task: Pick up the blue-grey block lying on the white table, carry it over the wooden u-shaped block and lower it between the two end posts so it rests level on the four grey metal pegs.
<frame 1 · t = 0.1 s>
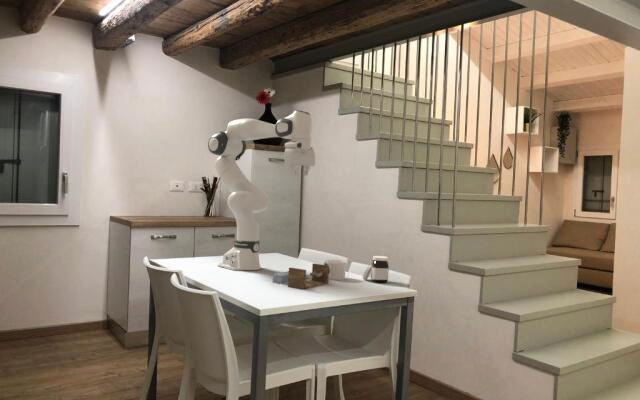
hand: (299, 175, 246), 48 cm above the table, fingers open, 8 cm apart
mug: (332, 278, 250), on the table
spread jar: (375, 281, 245), on the table
blue-grey block: (286, 281, 235), on the table
wooden u-shaped block: (308, 285, 228), on the table
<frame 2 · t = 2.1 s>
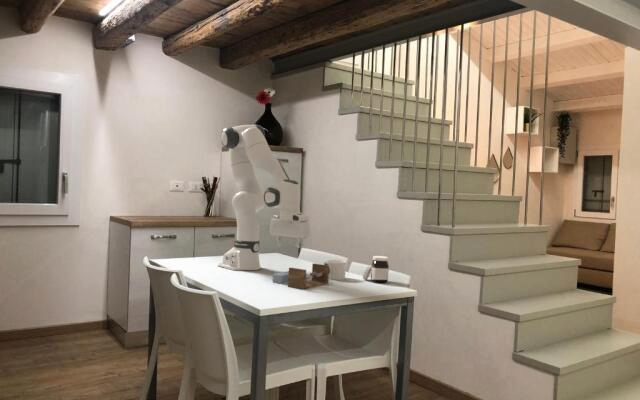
hand: (288, 247, 234), 15 cm above the table, fingers open, 8 cm apart
nothing on the table moved.
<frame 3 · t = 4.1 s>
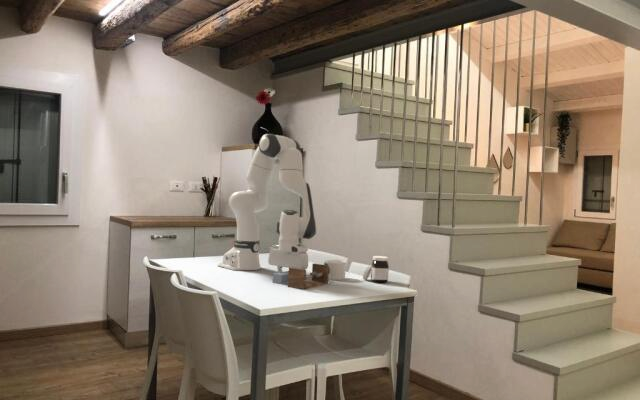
hand: (287, 277, 235), 2 cm above the table, fingers closed on blue-grey block, 5 cm apart
blue-grey block: (286, 281, 235), on the table, touching gripper
everything else where it was.
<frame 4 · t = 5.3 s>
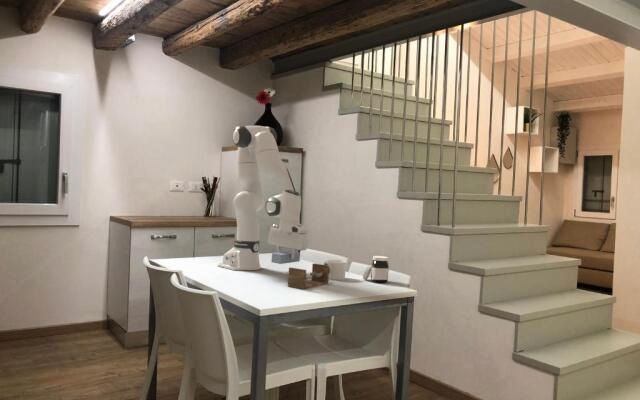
hand: (286, 257, 235), 11 cm above the table, fingers closed on blue-grey block, 5 cm apart
blue-grey block: (285, 261, 235), point 9 cm above the table, touching gripper
everything else where it was.
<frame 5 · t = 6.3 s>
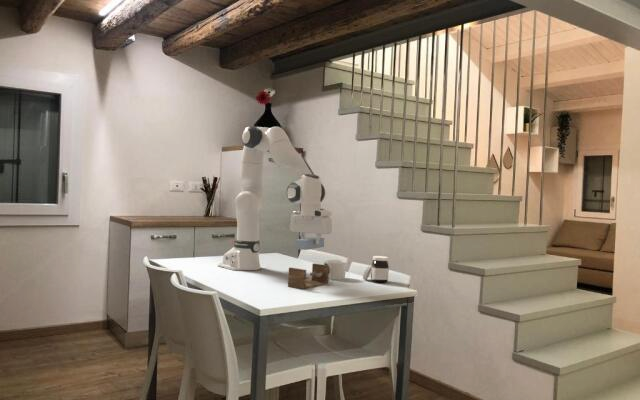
hand: (310, 243, 228), 18 cm above the table, fingers closed on blue-grey block, 5 cm apart
blue-grey block: (310, 247, 228), point 16 cm above the table, touching gripper
everything else where it was.
when the fingers open (7 cm above the table, at t = 8.1 s): blue-grey block stays where it is, resting on wooden u-shaped block.
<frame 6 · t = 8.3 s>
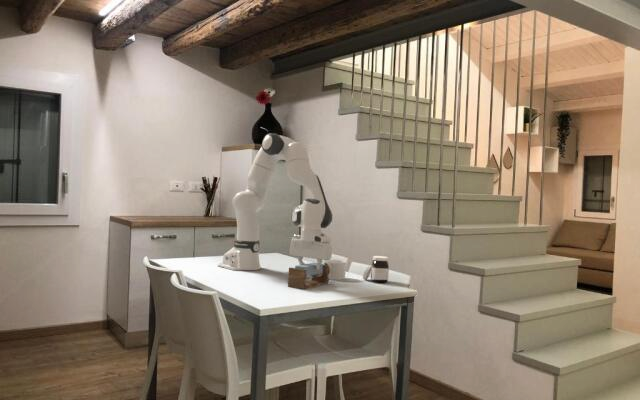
hand: (309, 268, 228), 7 cm above the table, fingers open, 7 cm apart
blue-grey block: (309, 274, 228), point 5 cm above the table, touching wooden u-shaped block
everything else where it was.
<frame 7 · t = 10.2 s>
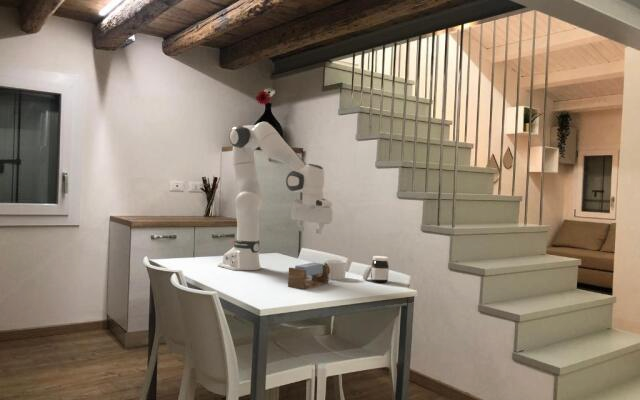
hand: (309, 232, 232), 23 cm above the table, fingers open, 8 cm apart
nothing on the table moved.
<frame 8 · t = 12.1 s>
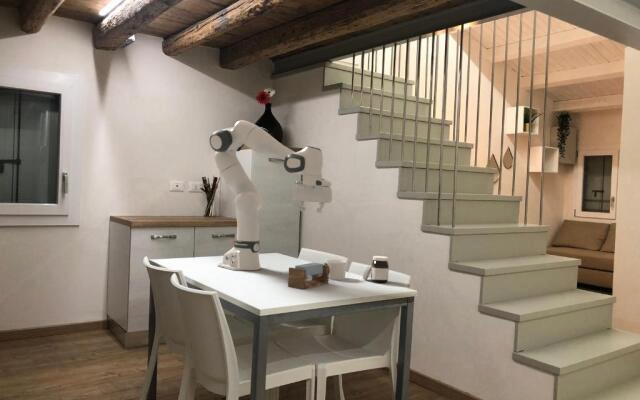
hand: (310, 211, 242), 31 cm above the table, fingers open, 8 cm apart
nothing on the table moved.
at the end: blue-grey block 0.1 cm off-centre on the wooden u-shaped block, point 4.8 cm above the wooden u-shaped block's base; blue-grey block tilted 0°; the gripper is holding nothing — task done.
